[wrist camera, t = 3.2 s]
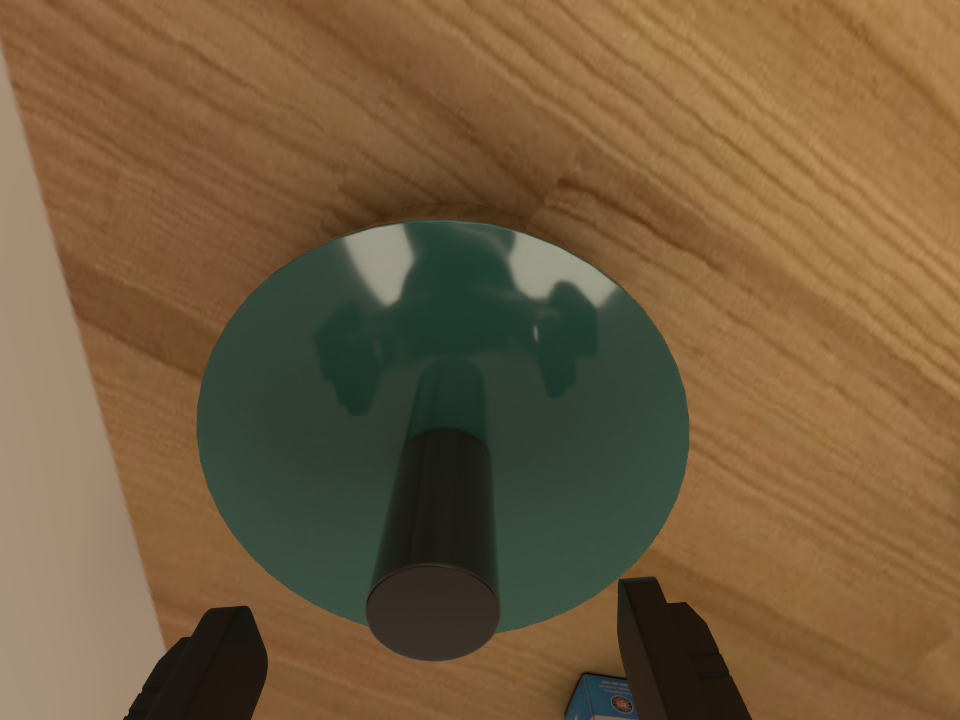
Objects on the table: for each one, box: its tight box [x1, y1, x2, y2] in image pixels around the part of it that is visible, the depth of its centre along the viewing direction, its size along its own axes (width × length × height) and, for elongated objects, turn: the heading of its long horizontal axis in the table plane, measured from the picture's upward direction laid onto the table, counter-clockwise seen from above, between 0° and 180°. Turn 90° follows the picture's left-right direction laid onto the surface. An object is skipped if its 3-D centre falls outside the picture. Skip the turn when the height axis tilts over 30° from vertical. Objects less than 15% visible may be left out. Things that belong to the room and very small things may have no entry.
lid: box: [197, 217, 689, 662], centre depth 14 cm, size 15×15×7 cm
